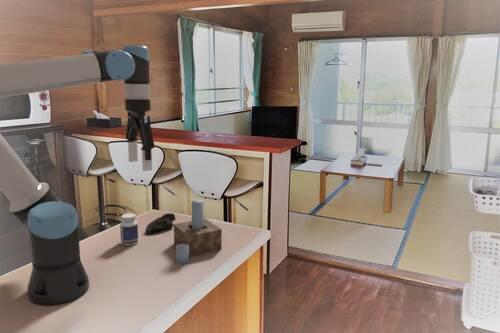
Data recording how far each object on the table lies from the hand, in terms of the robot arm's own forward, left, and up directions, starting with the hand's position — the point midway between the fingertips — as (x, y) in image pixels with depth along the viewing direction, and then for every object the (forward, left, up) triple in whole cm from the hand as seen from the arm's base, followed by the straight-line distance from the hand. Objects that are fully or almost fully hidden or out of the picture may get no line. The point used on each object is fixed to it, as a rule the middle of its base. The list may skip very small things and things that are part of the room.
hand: (140, 165), depth 135 cm
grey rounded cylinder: (+8, -14, -29) cm, 33 cm away
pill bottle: (-2, +8, -29) cm, 30 cm away
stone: (+12, +15, -29) cm, 35 cm away
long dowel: (+17, -6, -29) cm, 34 cm away
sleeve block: (+17, -6, -29) cm, 34 cm away
